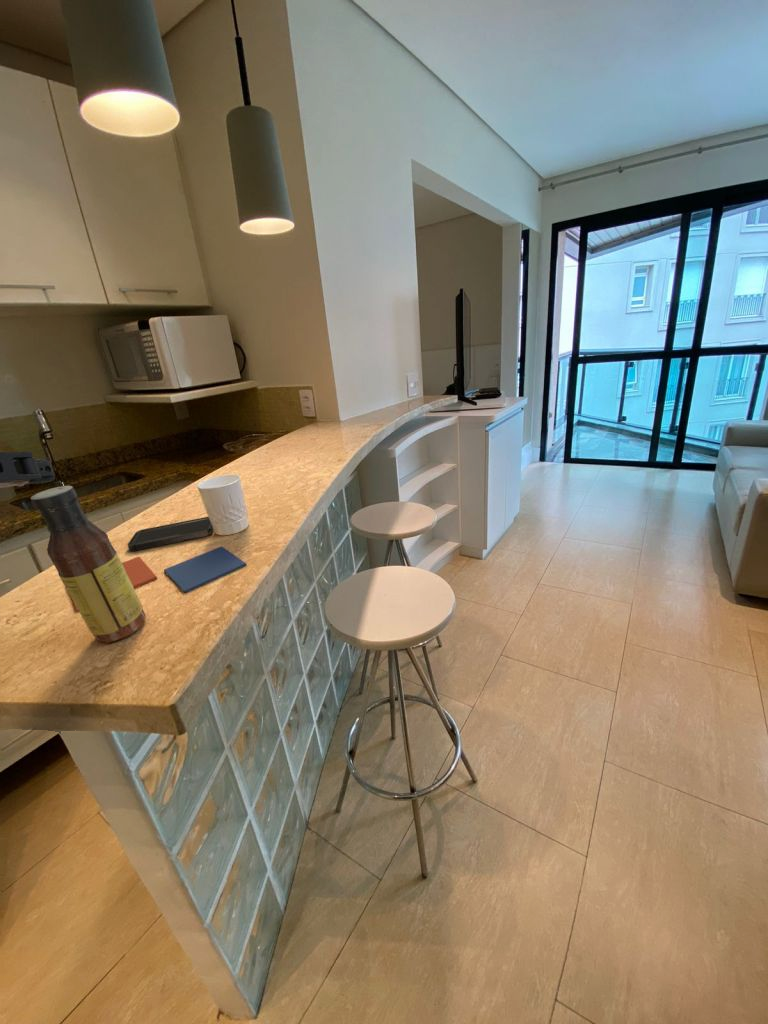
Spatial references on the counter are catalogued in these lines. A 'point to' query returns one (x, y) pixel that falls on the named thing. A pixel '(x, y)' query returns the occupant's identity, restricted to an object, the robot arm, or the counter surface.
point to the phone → (170, 533)
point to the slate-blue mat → (204, 568)
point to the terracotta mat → (137, 572)
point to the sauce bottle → (89, 567)
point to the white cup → (224, 503)
